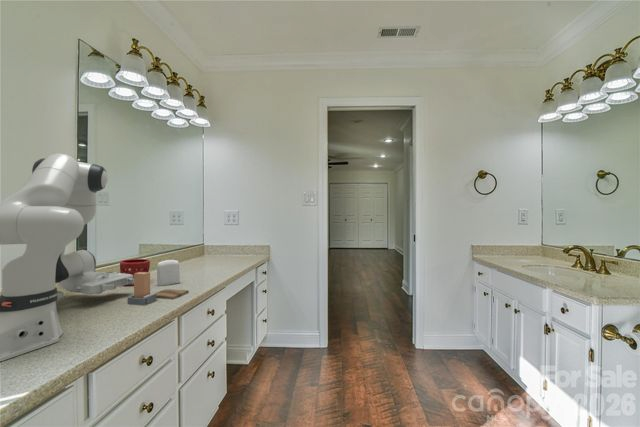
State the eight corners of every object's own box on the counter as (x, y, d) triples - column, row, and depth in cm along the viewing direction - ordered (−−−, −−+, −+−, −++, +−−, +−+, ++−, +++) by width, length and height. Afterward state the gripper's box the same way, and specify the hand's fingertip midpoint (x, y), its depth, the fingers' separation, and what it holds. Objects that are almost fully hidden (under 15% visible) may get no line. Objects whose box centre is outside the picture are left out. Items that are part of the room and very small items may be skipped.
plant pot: (127, 288, 144) (127, 263, 143) (115, 284, 151) (115, 260, 151) (154, 282, 154) (154, 259, 154) (142, 279, 162) (141, 257, 162)
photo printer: (157, 286, 146) (157, 261, 146) (156, 284, 150) (156, 260, 149) (180, 283, 152) (180, 259, 152) (178, 281, 156) (178, 258, 156)
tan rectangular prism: (144, 303, 120) (144, 274, 119) (134, 302, 121) (133, 273, 120) (150, 301, 123) (150, 272, 122) (140, 300, 124) (139, 272, 123)
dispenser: (145, 305, 117) (145, 296, 117) (126, 303, 119) (126, 295, 119) (157, 300, 124) (157, 291, 124) (139, 299, 126) (139, 290, 126)
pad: (173, 299, 125) (173, 296, 125) (149, 297, 128) (149, 295, 128) (188, 292, 135) (188, 290, 135) (165, 291, 138) (165, 289, 138)
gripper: (71, 281, 116) (101, 282, 113) (117, 270, 136) (143, 271, 133) (72, 297, 116) (101, 299, 113) (117, 284, 136) (143, 285, 133)
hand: (124, 284), depth 123 cm, fingers open, 8 cm apart
